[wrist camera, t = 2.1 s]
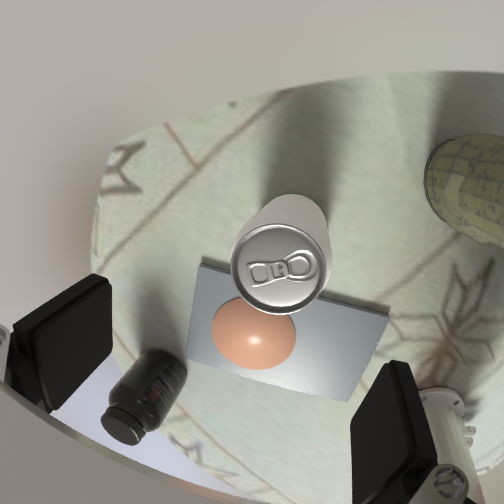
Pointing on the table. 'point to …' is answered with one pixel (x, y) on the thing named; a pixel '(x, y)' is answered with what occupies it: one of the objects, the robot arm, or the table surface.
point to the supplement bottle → (143, 396)
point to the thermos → (469, 186)
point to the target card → (282, 339)
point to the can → (282, 256)
